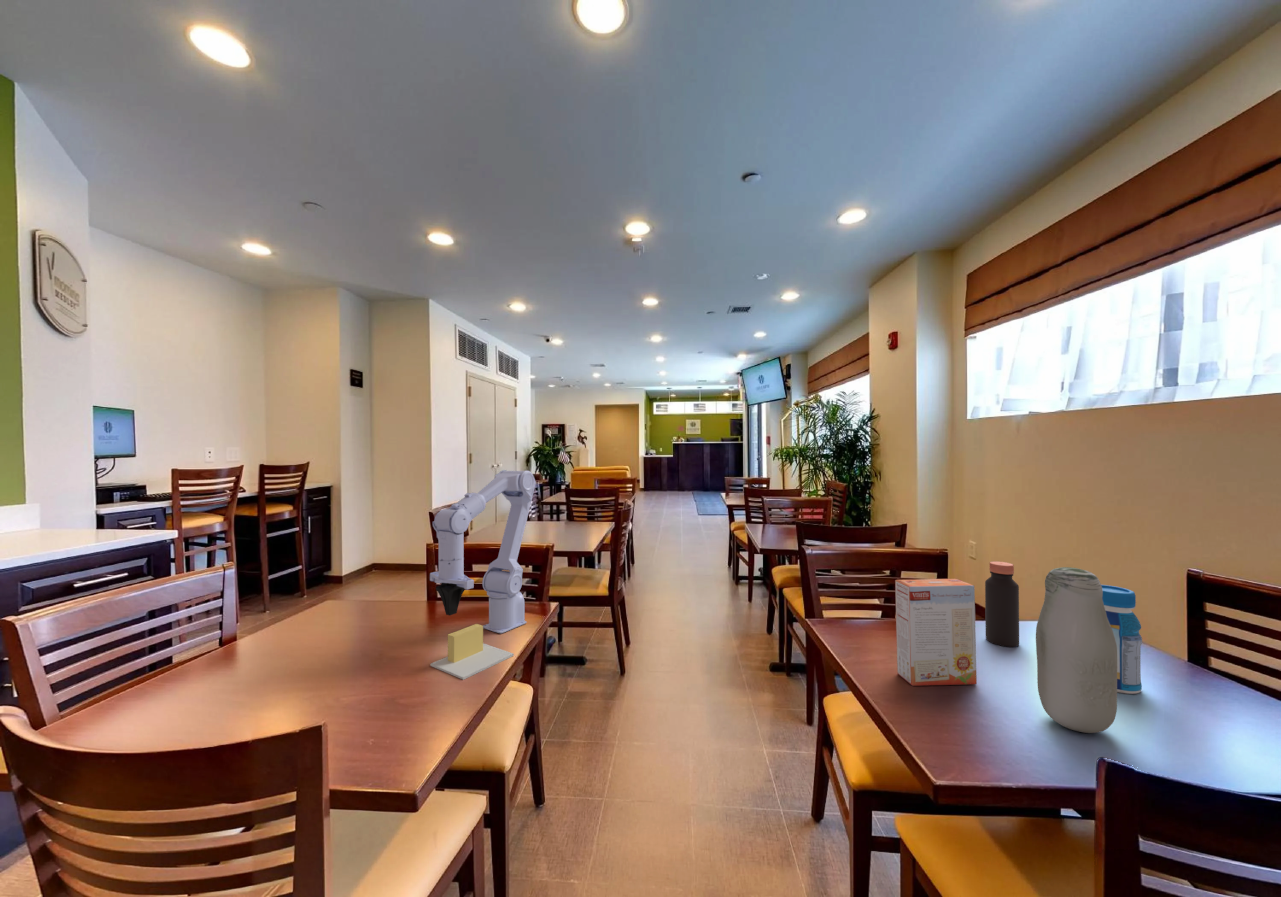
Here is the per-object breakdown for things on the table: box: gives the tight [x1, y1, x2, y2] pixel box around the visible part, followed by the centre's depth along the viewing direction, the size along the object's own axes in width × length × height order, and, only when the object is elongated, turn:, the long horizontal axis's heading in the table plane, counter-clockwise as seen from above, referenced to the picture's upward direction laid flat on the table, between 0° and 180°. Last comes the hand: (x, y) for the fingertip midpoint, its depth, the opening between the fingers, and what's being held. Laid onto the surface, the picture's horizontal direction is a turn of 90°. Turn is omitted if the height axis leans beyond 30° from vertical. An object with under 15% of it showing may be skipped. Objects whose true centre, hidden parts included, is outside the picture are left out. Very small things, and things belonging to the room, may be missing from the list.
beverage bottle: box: [1101, 584, 1143, 695], centre depth 97 cm, size 8×8×20 cm
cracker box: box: [894, 578, 978, 687], centre depth 99 cm, size 14×6×21 cm, turn 91°
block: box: [447, 623, 484, 663], centre depth 111 cm, size 8×2×6 cm, turn 147°
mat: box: [430, 642, 515, 681], centre depth 109 cm, size 14×12×1 cm
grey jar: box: [1035, 566, 1118, 734], centre depth 82 cm, size 10×10×28 cm
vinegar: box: [984, 561, 1020, 648], centre depth 119 cm, size 7×7×20 cm
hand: (451, 613), depth 114 cm, fingers closed
